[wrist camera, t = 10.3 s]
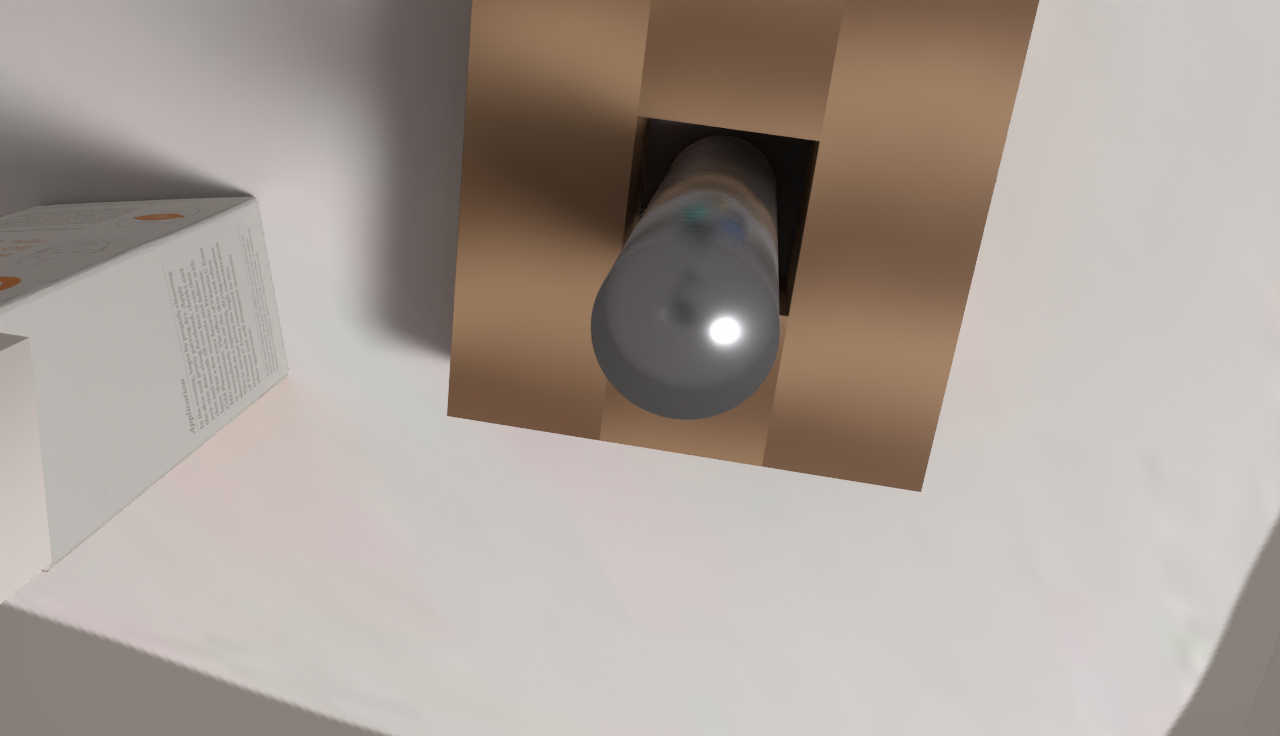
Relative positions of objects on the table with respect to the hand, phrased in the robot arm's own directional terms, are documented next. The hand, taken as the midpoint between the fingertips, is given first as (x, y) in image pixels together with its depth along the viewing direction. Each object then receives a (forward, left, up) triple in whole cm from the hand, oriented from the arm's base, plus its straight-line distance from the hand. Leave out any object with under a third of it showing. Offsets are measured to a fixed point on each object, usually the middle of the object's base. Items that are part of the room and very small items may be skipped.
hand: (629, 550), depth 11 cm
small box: (+6, -18, -23) cm, 29 cm away
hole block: (0, 0, -22) cm, 22 cm away
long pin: (0, 0, -22) cm, 22 cm away
